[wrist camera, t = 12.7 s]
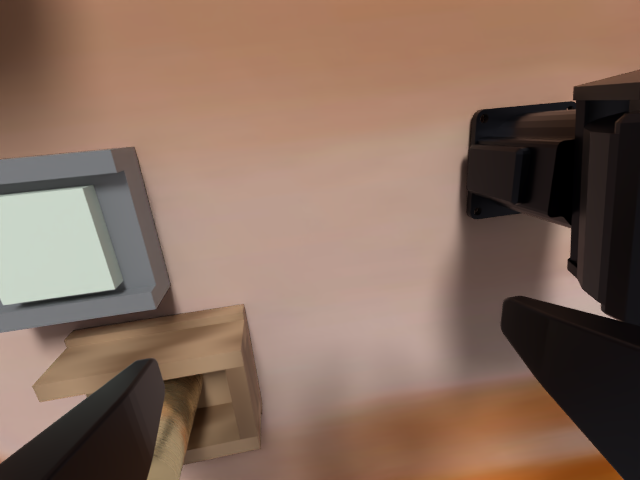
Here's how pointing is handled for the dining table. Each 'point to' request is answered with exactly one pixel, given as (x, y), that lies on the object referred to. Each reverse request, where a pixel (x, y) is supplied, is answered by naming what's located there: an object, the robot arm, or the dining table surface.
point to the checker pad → (54, 245)
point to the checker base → (122, 224)
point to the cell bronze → (175, 426)
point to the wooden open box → (174, 371)
